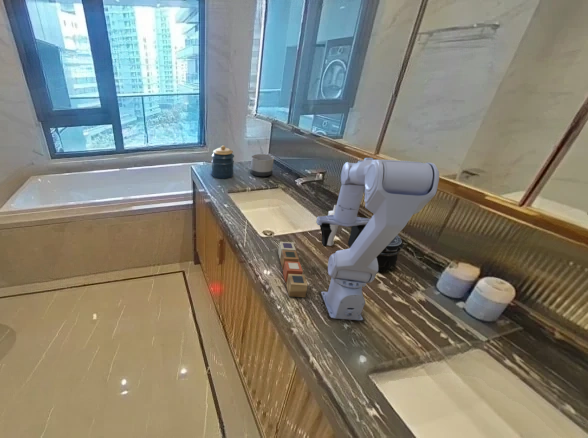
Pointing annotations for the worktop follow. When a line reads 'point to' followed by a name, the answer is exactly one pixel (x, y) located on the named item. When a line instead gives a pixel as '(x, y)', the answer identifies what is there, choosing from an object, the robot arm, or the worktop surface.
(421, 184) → the robot arm
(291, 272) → the terracotta block
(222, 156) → the canister
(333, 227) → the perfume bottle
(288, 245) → the cream block
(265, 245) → the worktop surface
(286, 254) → the beech block
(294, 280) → the maple block
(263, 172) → the planter
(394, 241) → the container
